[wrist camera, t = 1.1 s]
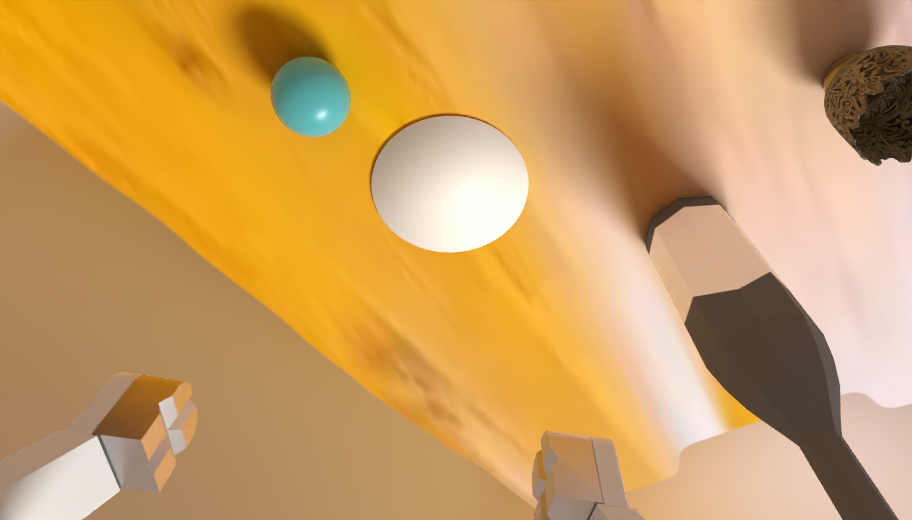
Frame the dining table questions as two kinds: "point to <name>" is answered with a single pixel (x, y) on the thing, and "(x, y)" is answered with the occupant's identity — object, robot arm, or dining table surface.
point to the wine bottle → (759, 343)
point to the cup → (873, 102)
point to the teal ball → (310, 96)
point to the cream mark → (449, 183)
